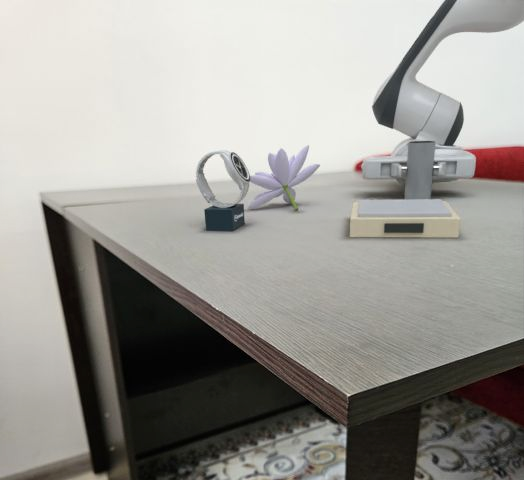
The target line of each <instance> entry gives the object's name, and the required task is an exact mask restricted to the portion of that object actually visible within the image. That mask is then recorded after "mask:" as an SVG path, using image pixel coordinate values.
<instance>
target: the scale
mask: <svg viewBox="0 0 524 480" xmlns="http://www.w3.org/2000/svg"><path fill="white" fill-rule="evenodd" d="M460 226H461V217H460V216H459V215H458V214H457V213H456V212H455V210H454V209H453V208H452V207H451V205H450V204H449V203H448V201H443V200H442V199H441V198H430V199H404V198H403V199H359V201H354V202H353V203H352V208H351V213H350V219H349V238H411V239H412V238H416V239H417V238H420V239H421V238H422V239H424V238H425V239H427V238H428V239H429V238H430V239H431V238H432V239H433V238H434V239H435V238H436V239H438V238H441V239H443V238H444V239H445V238H447V239H448V238H449V239H454V238H455V239H456V238H457V239H458V238H459V233H460V228H461V227H460Z"/></svg>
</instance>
